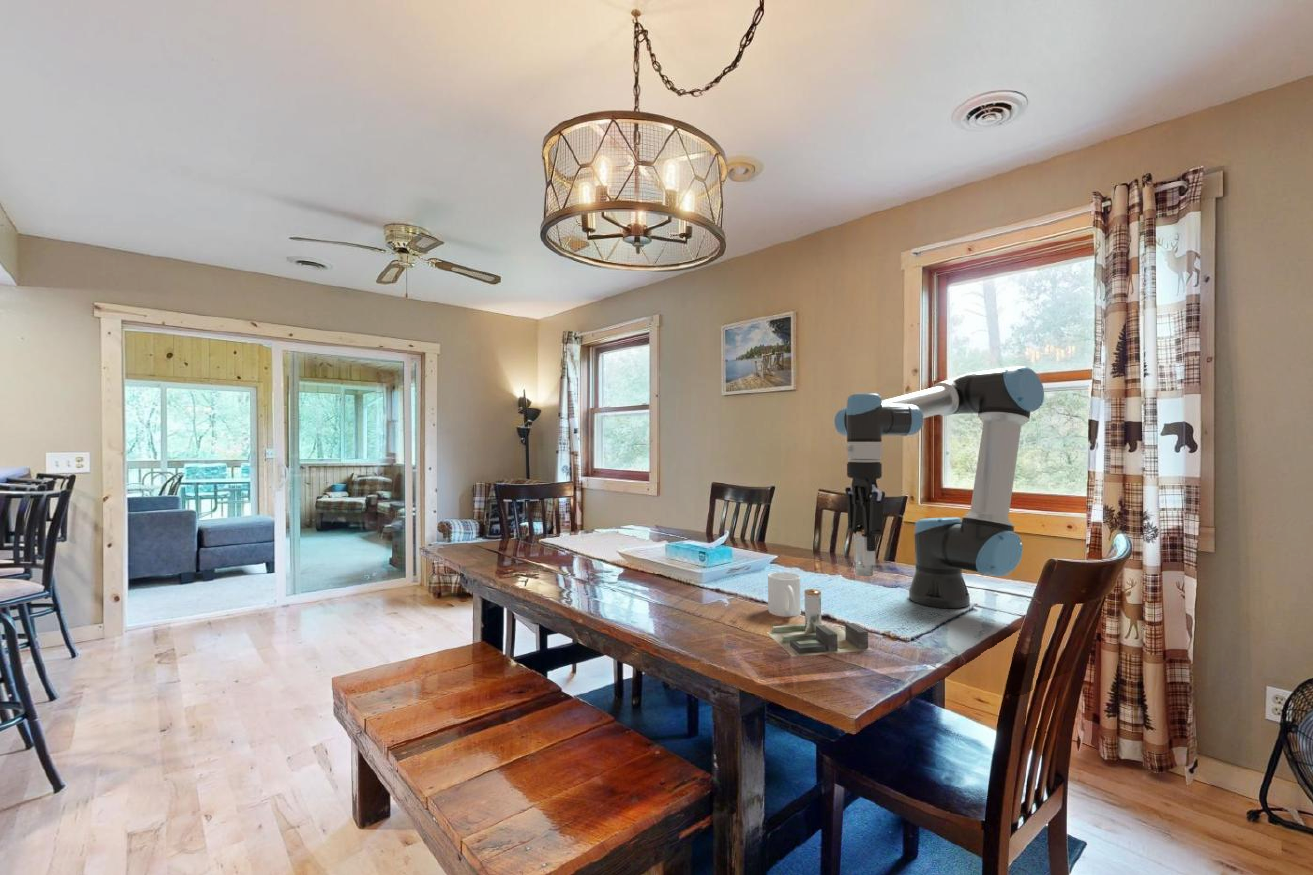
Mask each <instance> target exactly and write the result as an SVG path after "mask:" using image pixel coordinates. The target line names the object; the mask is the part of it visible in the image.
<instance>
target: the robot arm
mask: <svg viewBox="0 0 1313 875" xmlns="http://www.w3.org/2000/svg"><path fill="white" fill-rule="evenodd" d="M1044 400H1045V389H1044V386H1043V382H1042V380H1041V379H1040V377H1039V375H1038V374H1037V373H1036V371H1034V370H1033V369H1031V368H1029V367H1026V366H1007V367H1003V368H995V369H988V370H982V371H972V372H971V371H970V372H968V373H965V374H962V375H959V376H956V377H951V378H949V379H946V380H943V381H938V382H936V383H934V384H933V385H932V386H931V387H930V388H927V389H926V388H925V389H921V390H919V391H918V390H917V391H915V392H910V393H906V394H902V395H899V396H898V395H897V396H895V397H890V398H886V399H882V396H881V395H880V393H870V392H869V393H866V392H865V393H854V394H853V393H852V394H850V395H849V396H848V397H847V400H846V401H847V402H846V407H844V408H841V409H839V410H838V411H837V412H836V415H835V416H834V427H835V429H836V431H837V432H838V434H840V435H842V436H846V442H847V443H846V447H845V450H846V455H847V456H846V457H847V458H846V459H847V460H849V461H847V463H846V476H847V478H849V479H852V481H851V486H847V487H845V489H844V490H845V495H846V506H847V508H846V510H847V527H848V529H849V530H851V531H852V533H853V561H854V562H855V563H856V531H862V530H864V531H865V534H862V536H863V565H873V566H876V537H878V536H879V535H880V536H881V535H883V534H882V533H883V520H884V519H883V518H884V516H883V514H884V500H885V497H886V493H885V492H886V491H882V490H881V491H880V489H879V488H878V482H877V481H878V480H877V479H881V478H882V477H883V476H882V474H883V472H882V468H883V467H882V466H883V464H882V463H881V462H880V460H882V459H883V454H882V453H883V452H882V451H883V449H882V443H883V442H882V436H901V437H906V436H914V435H916V434H917V433H918V432H920V431H921V430H922V427H923V425H924V419H925V418H926V419H927V418H930V417H934V416H937V415H940V416H943V417H947V416H950V415H958V414H962V415H963V414H977V417H978V418H979V421H981V422H982V430H981V436H980V442H979V449H978V457H977V462H976V469H975V476H974V482H973V488H972V489H973V491H972V496H971V503H970V504H971V505H970V511H969V512H968V513H966V514H965V515H963V516H962V518H960V517H957V516H955V517H954V516H953V517H952V516H951V517H950V516H949V517H929V518H921V519H918V520H917V521H916V522H915V526H914V557H915V558H914V559H915V572H914V575H913V577H912V580H911V584H910V587H909V589H908V598H909V599H910V600H911V601H912V602H914V603H917V604H918V605H919V604H920V605H923V606H928V607H933V608H943V609H961V608H966V607H969V606H970V604H971V596H970V593H969V591H968V588H967V585H966V581H965V580H964V577H963V570H965V571H970V572H973V573H979V574H981V575H985V576H993V577H1004V576H1008V575H1009V574H1010V573H1012V572H1013V571H1015V569H1016V568H1017V567H1018V565H1019V564H1020V562H1021V559H1022V555H1023V551H1024V550H1023V549H1024V546H1023V543H1022V539H1021V536H1020V535H1018V534H1017V533H1015V531H1014V530H1015V524H1014V523H1013V522H1012V521H1011V520H1010V518H1009V516H1010V509H1011V503H1012V502H1011V501H1012V495H1013V489H1014V481H1015V473H1016V467H1017V460H1018V452H1019V444H1020V440H1021V439H1020V437H1021V432H1022V427H1023V426H1024V425H1025V424H1027V423H1029V422H1030V417H1031V413H1032V412H1036V411H1037V410H1039V409H1040V408H1041V406H1043V404H1044Z"/></svg>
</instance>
